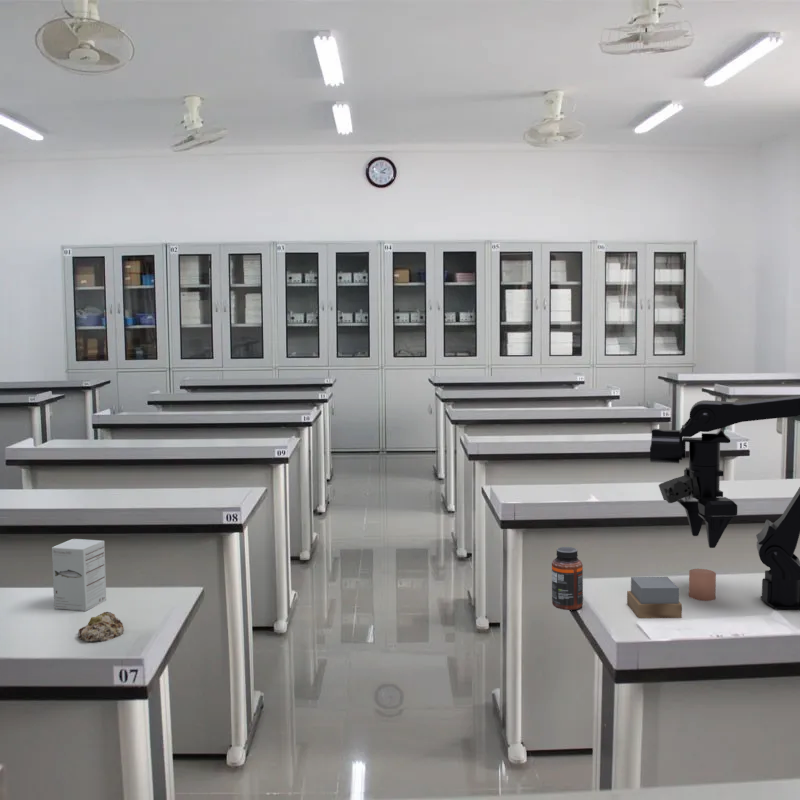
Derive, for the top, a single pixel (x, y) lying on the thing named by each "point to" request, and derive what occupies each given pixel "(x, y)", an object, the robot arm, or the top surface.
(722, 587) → the top surface
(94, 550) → the supplement box
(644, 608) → the tower base
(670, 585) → the tower top
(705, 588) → the brick cylinder
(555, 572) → the supplement bottle
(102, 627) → the mineral rock
